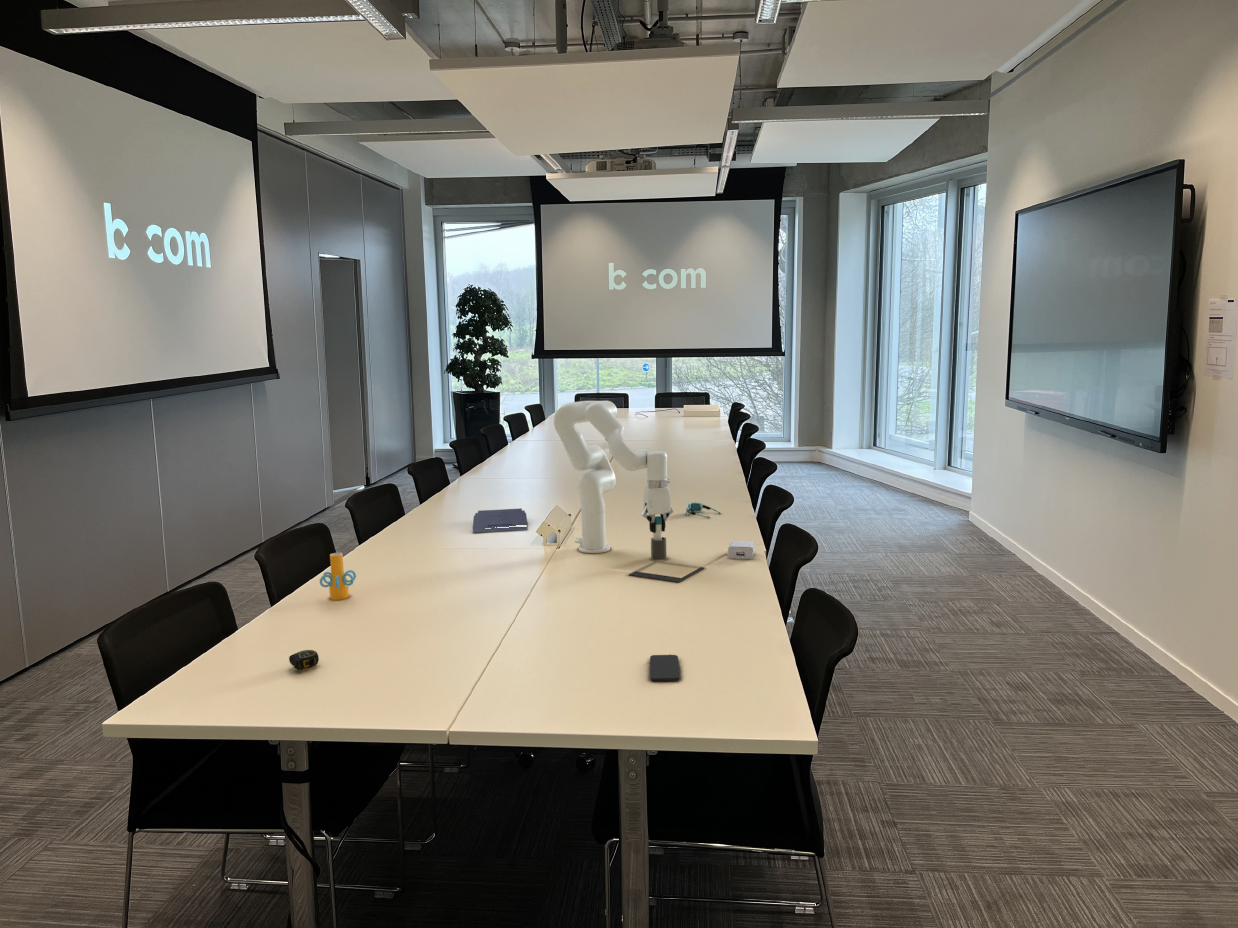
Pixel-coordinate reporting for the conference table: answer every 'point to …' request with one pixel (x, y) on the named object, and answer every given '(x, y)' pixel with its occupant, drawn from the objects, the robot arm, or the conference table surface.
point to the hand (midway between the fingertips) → (657, 530)
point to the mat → (664, 578)
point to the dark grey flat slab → (499, 520)
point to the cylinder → (338, 578)
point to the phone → (664, 668)
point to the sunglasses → (697, 508)
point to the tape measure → (304, 659)
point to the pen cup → (658, 549)
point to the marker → (658, 528)
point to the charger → (741, 550)
